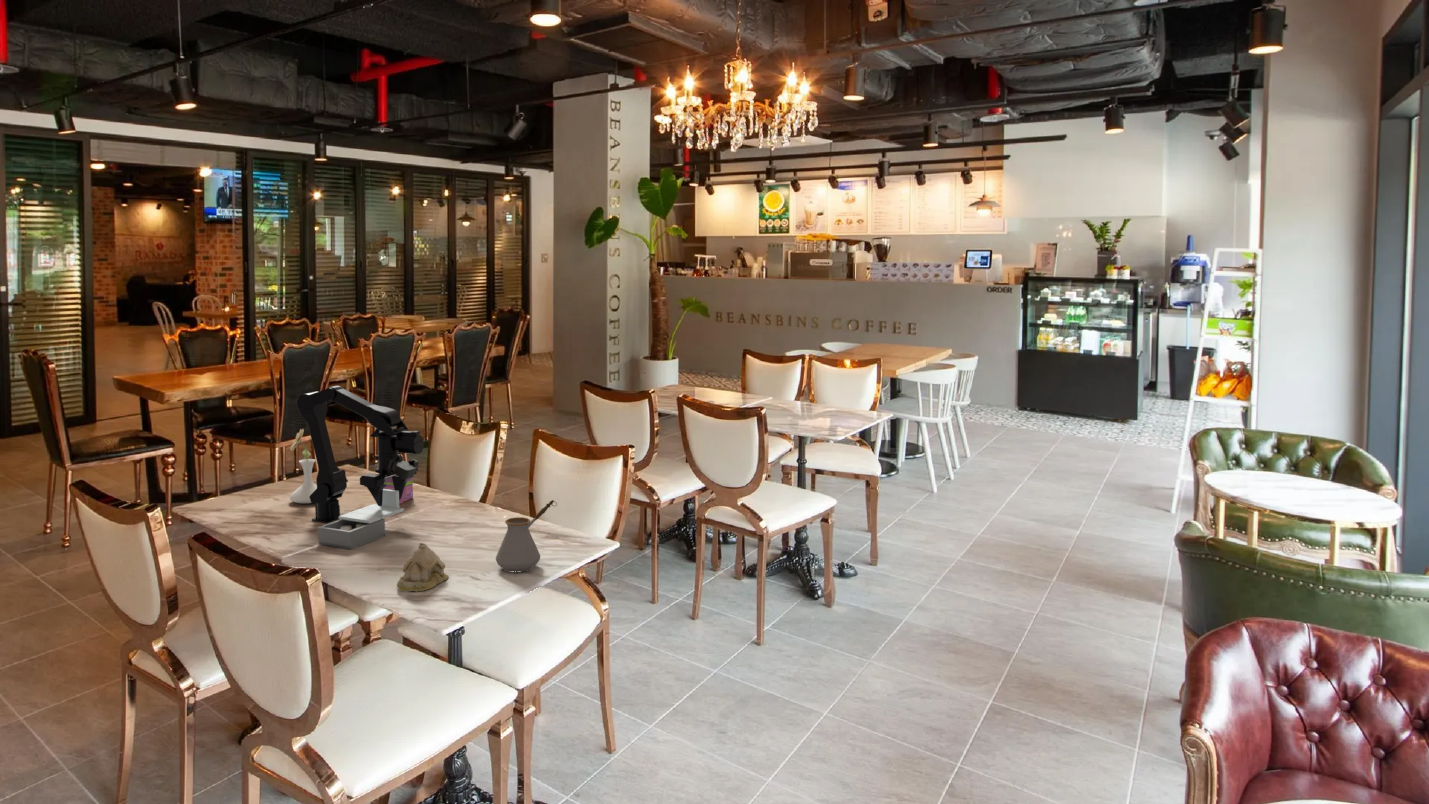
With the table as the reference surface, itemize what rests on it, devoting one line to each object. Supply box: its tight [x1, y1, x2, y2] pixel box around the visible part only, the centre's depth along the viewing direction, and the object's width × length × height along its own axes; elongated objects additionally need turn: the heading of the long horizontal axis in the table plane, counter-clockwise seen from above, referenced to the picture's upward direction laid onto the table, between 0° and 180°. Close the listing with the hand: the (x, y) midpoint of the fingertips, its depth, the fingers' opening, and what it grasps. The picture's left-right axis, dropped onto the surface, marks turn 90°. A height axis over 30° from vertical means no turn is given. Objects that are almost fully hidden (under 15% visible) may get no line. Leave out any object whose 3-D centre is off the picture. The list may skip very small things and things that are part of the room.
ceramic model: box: [396, 542, 449, 592], centre depth 218 cm, size 14×11×10 cm
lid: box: [338, 489, 405, 523], centre depth 257 cm, size 11×16×6 cm
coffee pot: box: [495, 499, 558, 573], centre depth 234 cm, size 21×12×15 cm, turn 153°
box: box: [384, 475, 414, 505], centre depth 291 cm, size 10×6×12 cm, turn 168°
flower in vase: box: [289, 428, 317, 504], centre depth 286 cm, size 13×11×25 cm
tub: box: [317, 518, 386, 550], centre depth 250 cm, size 11×14×5 cm
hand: (389, 502), depth 264 cm, fingers open, 8 cm apart
